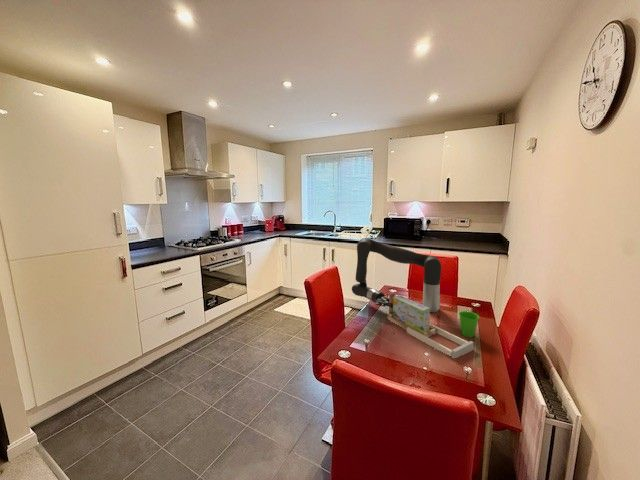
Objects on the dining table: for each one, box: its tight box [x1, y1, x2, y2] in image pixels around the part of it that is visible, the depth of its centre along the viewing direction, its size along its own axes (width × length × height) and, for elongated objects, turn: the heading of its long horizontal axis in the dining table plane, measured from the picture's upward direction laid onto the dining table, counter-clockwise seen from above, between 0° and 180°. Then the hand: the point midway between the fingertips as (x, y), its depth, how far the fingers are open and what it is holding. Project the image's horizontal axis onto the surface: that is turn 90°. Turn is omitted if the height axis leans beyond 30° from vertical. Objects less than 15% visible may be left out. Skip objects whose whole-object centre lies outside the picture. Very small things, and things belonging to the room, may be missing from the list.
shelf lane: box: [406, 323, 474, 359], centre depth 130 cm, size 14×27×4 cm, turn 29°
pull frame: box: [386, 292, 438, 338], centre depth 145 cm, size 10×28×14 cm, turn 29°
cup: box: [458, 310, 480, 338], centre depth 134 cm, size 9×9×11 cm
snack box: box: [393, 295, 431, 333], centre depth 143 cm, size 21×6×15 cm, turn 29°
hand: (395, 305), depth 153 cm, fingers closed on pull frame, 3 cm apart
